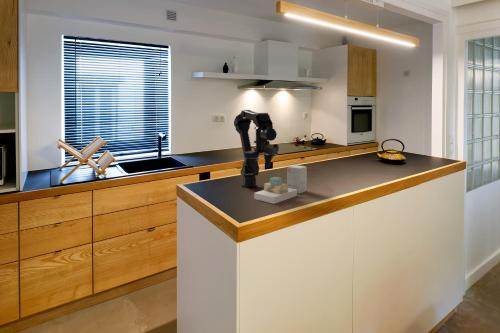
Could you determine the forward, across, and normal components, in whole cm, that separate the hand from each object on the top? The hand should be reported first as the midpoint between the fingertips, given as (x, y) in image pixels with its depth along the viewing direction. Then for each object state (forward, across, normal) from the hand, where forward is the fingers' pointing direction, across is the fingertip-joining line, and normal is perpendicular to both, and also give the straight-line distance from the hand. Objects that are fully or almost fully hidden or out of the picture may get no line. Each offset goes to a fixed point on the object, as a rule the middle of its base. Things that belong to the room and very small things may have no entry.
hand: (261, 169), depth 158 cm
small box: (+12, +15, -11) cm, 22 cm away
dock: (+12, -1, -10) cm, 16 cm away
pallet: (+9, -1, -10) cm, 13 cm away
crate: (+6, -1, -10) cm, 11 cm away
